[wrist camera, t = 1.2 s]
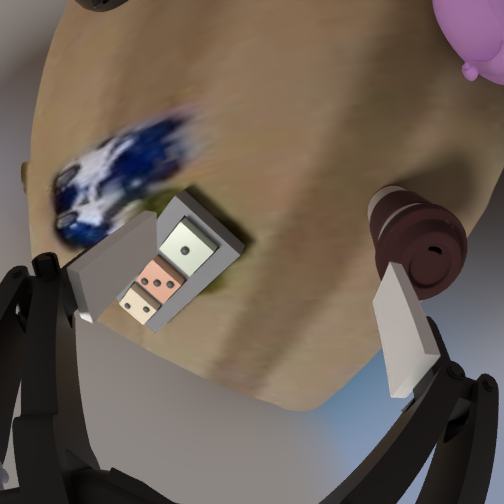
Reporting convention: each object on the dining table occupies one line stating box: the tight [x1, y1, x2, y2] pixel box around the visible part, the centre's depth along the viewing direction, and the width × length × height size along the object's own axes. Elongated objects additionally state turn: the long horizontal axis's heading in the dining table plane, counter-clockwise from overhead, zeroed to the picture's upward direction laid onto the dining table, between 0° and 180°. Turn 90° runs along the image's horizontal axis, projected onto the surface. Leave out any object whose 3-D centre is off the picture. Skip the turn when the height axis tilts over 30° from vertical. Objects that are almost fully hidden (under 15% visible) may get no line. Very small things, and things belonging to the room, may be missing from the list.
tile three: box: [136, 255, 185, 304], centre depth 43 cm, size 6×6×3 cm
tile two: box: [119, 282, 161, 325], centre depth 46 cm, size 6×6×3 cm
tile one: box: [159, 217, 218, 276], centre depth 39 cm, size 6×6×3 cm
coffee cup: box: [368, 186, 467, 300], centre depth 27 cm, size 10×10×15 cm
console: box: [116, 190, 245, 333], centre depth 44 cm, size 12×26×3 cm, turn 137°
